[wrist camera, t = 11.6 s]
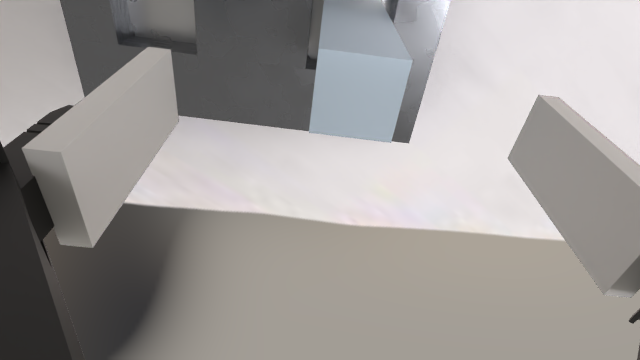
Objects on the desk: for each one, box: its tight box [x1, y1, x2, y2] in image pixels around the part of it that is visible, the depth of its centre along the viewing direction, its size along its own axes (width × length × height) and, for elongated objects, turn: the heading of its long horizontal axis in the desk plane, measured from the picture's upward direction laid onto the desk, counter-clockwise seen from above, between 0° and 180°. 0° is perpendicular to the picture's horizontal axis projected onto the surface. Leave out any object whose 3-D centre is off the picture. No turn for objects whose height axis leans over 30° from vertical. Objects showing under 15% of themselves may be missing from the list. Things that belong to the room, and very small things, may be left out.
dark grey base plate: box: [60, 0, 451, 143], centre depth 24 cm, size 14×23×3 cm, turn 83°
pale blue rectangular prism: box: [309, 0, 413, 143], centre depth 21 cm, size 4×4×12 cm
